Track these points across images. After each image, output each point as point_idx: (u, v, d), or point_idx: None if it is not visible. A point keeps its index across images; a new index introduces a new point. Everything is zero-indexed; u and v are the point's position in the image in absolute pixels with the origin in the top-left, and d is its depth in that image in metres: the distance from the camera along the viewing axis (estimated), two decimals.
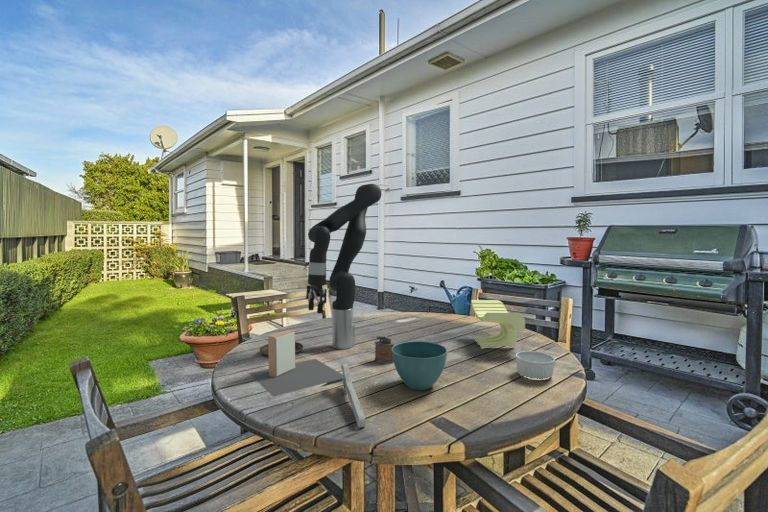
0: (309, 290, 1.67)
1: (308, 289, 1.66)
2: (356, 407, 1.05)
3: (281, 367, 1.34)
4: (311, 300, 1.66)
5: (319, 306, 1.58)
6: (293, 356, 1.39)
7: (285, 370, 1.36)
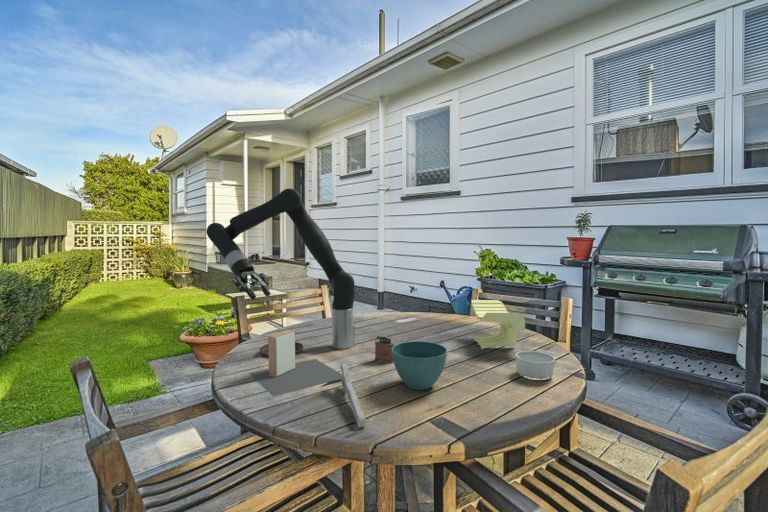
0: (260, 279, 1.52)
1: None
2: (356, 407, 1.04)
3: (281, 367, 1.34)
4: (262, 287, 1.49)
5: None
6: (293, 356, 1.39)
7: (285, 370, 1.36)
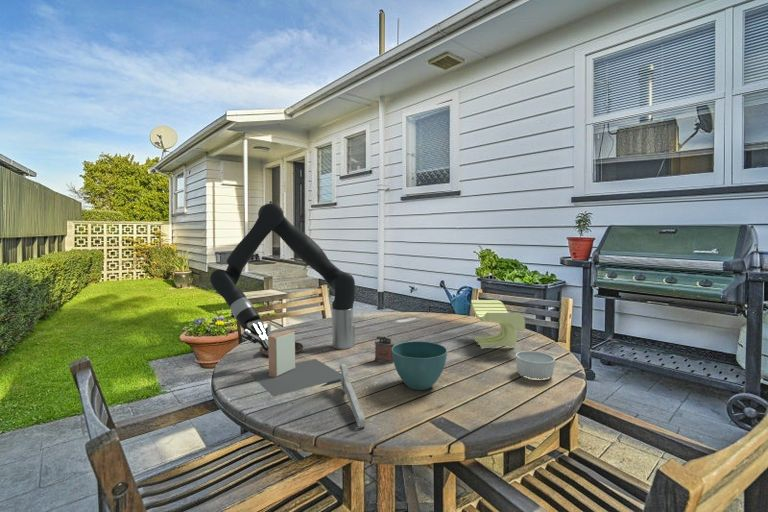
0: (265, 330, 1.46)
1: (263, 330, 1.46)
2: (356, 407, 1.04)
3: (281, 367, 1.34)
4: None
5: None
6: (293, 356, 1.39)
7: (285, 370, 1.36)
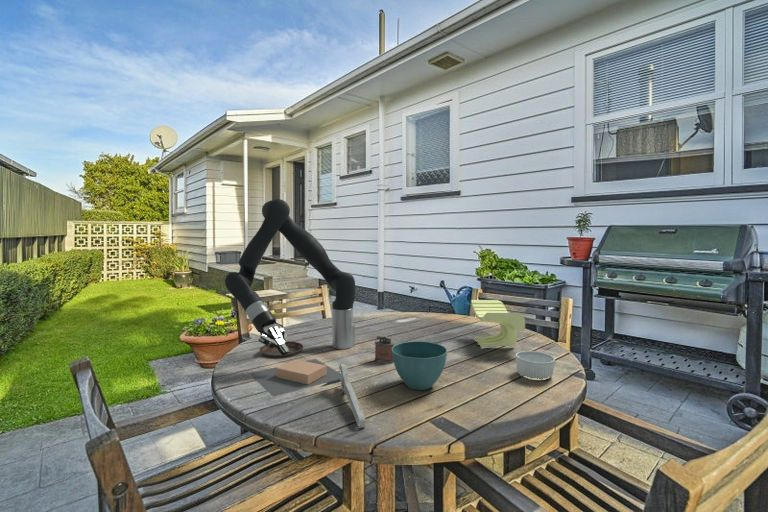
0: (281, 334, 1.42)
1: None
2: (356, 407, 1.04)
3: None
4: None
5: None
6: None
7: None
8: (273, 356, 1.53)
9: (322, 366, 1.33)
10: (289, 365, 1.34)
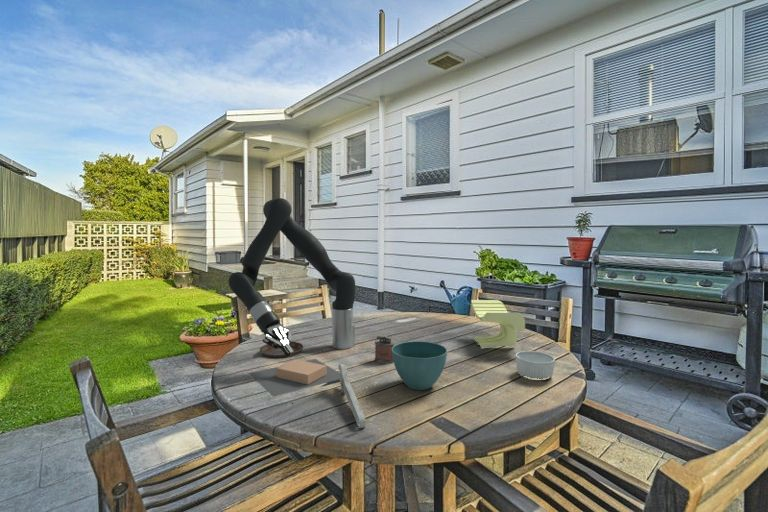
0: (285, 334, 1.41)
1: None
2: (356, 408, 1.04)
3: None
4: None
5: None
6: None
7: None
8: (273, 356, 1.53)
9: (322, 366, 1.33)
10: (289, 365, 1.34)
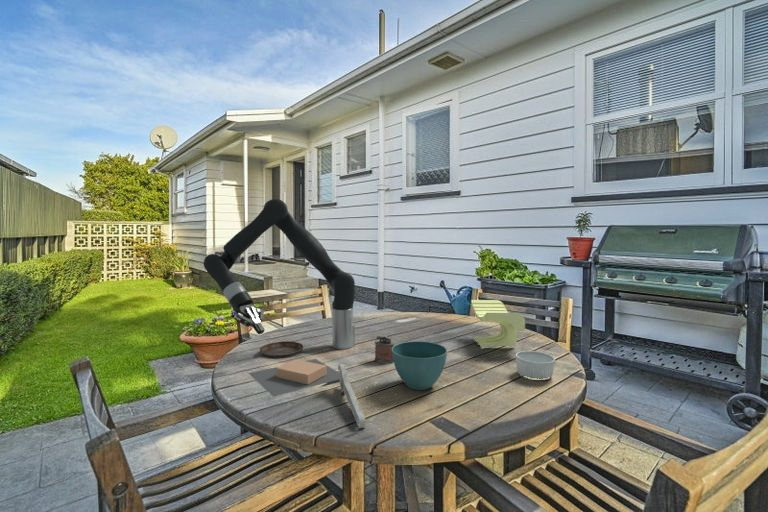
0: (258, 314, 1.47)
1: (256, 314, 1.48)
2: (356, 408, 1.04)
3: None
4: None
5: None
6: None
7: None
8: (273, 356, 1.53)
9: (322, 366, 1.33)
10: (289, 365, 1.34)
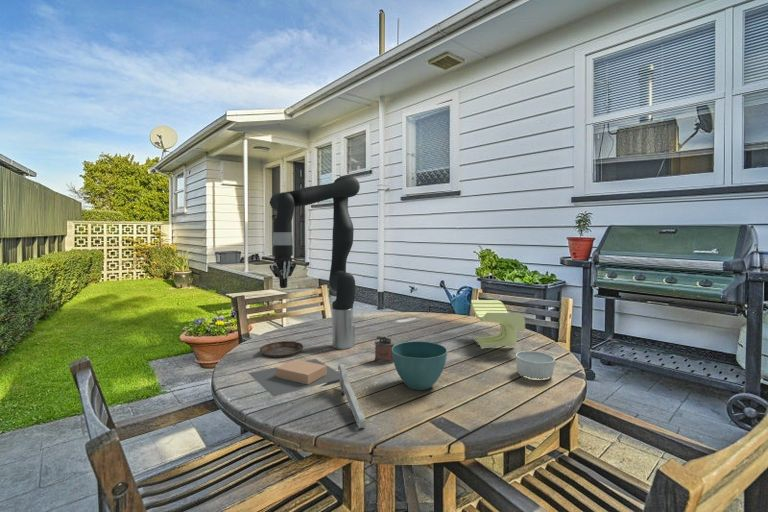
0: (289, 266, 1.55)
1: None
2: (356, 408, 1.04)
3: None
4: None
5: (280, 280, 1.51)
6: None
7: None
8: (273, 356, 1.53)
9: (322, 366, 1.33)
10: (289, 365, 1.34)
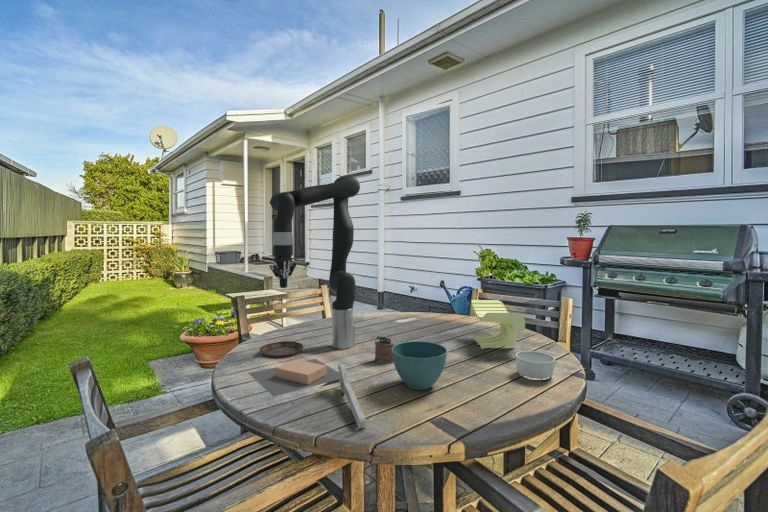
0: (289, 266, 1.55)
1: None
2: (356, 408, 1.04)
3: None
4: None
5: (280, 280, 1.51)
6: None
7: None
8: (273, 356, 1.53)
9: (322, 366, 1.33)
10: (289, 365, 1.34)
